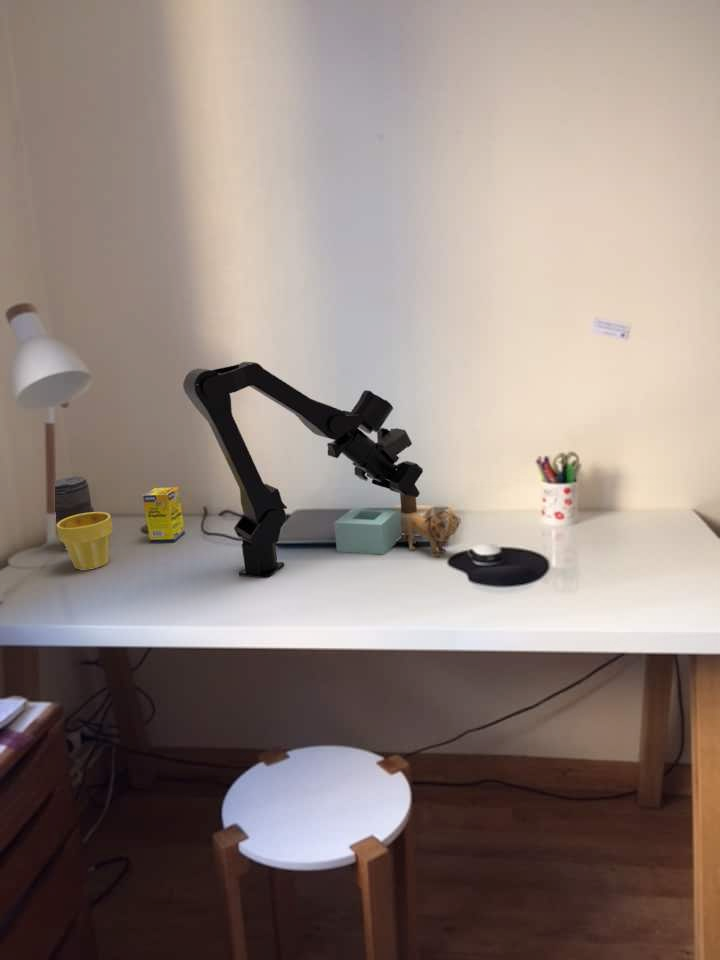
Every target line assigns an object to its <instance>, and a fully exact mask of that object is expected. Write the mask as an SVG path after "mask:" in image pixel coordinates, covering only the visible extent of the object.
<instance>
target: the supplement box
mask: <svg viewBox="0 0 720 960" xmlns="http://www.w3.org/2000/svg"><path fill="white" fill-rule="evenodd" d="M180 499H181V498H180V492H179V487H155V488H153V489H152V490H150V491H149V492H147V493H144V494H143V495H142V501H143V507H144V513H145V519H146V525H147V531H148V539H149V542H150V543H151V544H155V543H157V544H158V543H159V544H160V543H175V542H176V541H178V539H180V538H181V537H182V536H184V535H185V534H186V531H185V530H186V529H185V526H184V518H183V512H182V505H181V500H180Z"/></svg>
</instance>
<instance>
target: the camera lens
mask: <svg viewBox="0 0 720 960" xmlns="http://www.w3.org/2000/svg"><path fill="white" fill-rule="evenodd" d="M54 481H55V512H56V519H55V523H56V525H57V523H58V522H60V521H61V520H63V519H65V518H68V517H70V516H74V515H78V514H83V513H89V512H95V511H94V507H93V506H92V503H91V502H92V499H91V494H90V493H91V492H90V488H89V483H88V482H87V480H86V477H84V476H72V477H71V476H70V477H65V478H61V479H57V480H54ZM60 543H62V545H63V548H66V547H65V545H64V543H63V542H61V541H60Z"/></svg>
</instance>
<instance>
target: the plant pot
mask: <svg viewBox="0 0 720 960" xmlns="http://www.w3.org/2000/svg"><path fill="white" fill-rule="evenodd" d="M56 531H57V535H58V539H59V541H60V543H61V542H63V543H64V545H65V547H66V549H67V550H66V551H67V553H68V555H69V557H70V559H71V562H72V565H73V566H74V569H76V568H77V569H90V568H96V567H99V566H102V565H104V566H106V565H108V564H109V562H108V561H110V541H111V533H113V531H114V529H113V520H112V516H111V514H110V513H109V512H103V511H94V512H89V513H83V514H78V515H74V516H70V517H68V518H65V519H63V520H61V521H60V522H58V523H57V524H56ZM63 543H62V544H63ZM105 564H106V565H105ZM102 567H103V566H102ZM77 569H76V570H77Z"/></svg>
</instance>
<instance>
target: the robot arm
mask: <svg viewBox="0 0 720 960" xmlns="http://www.w3.org/2000/svg"><path fill="white" fill-rule="evenodd" d="M182 384H183V385H182V386H183V390H184V393H185V395H186V396H187V397H188V399H189V400H190V402H191V403H192V405H194V408H196V410H197V411H198V413H200V415H201V416H202V417H203V418H204V419H205V420H206V421H207V422H208V424H209V426H210V429H211V431H212V433H213V435H214V437H215V440H216V441H217V444H218V446H219V448H220V450H221V452H222V454H223V456H224V458H225V460H226V463H227V464H228V467H229V469H230V471H231V473H232V475H233V477H234V480H235V481H236V484H237V486H238V488H239V493H240V494H239V495H240V505H241V509H242V512H243V514H242V515H241V517H240V518H239V520H238V521H237V523H236V524H235V526H234V528H233V530H234V532H235V533H236V535H237V537H238V538H241V539H242V543H241V549H242V556H243V564H244V567H243V568H242V569H241V570H240V571H238V575H239V576H245V577H259V578H270V577H271V576H272V575H273V574H275V573H276V572H278V570H280V569H281V568H283V567H284V566H285V563H284V562H282V561H278V556H277V548H276V547H277V546H276V543H278V542H279V540H280V539H279V538H280V534H281V529H282V527H283V526H284V525H285V521H286V520H287V514H286V509H288V506H286V504H285V503H284V502H283V501H282V500H283V499H282V495H281V493H280V490H279V488H276V487H274V486H272V485H269V484H268V483H264V482H263V480H262V477H261V475H260V473H259V470H258V469H257V468H258V467H256V464H255V462H254V459H253V457H252V455H251V453H250V451H249V449H248V447H247V444H246V442H245V439H244V438H243V435H242V433H241V431H240V429H239V427H238V425H237V422H236V420H235V418H234V416H233V412H232V410H233V409H232V398H231V397H232V396H231V394H234V393H237V392H238V391H241V390H243V389H246V388H248V387H250V388H252V390H253V389H254V390H255V391H257V392H258V393H260V394H261V395H263V396H265V397H266V398H268V399H269V400H271V401H272V402H274V403H276V404H278V405H279V406H281V407H282V408H284V409H285V410H287V411H289V412H290V413H292V414H294V415H295V417H297V418H298V419H299V420H300V422H301V423H302V424H303V425H304V426H305V427H306V428H307V429H308V430H309V431H310V432H312V433H313V434H315V435H316V436H319V437H323V438H326V439H329V440H333V441H332V442H327V443H326V444H327V456H329V457H332V458H335V459H338V458H340V456H341V454H342V455H344V456H345V457H346V458H347V459H349V460H350V461H351V462H352V465H353V466H354V469H353V470H354V475H355V476H356V477H358V478H359V479H360V480H363V481H365V482H368V480H369V479H371V484H373V485H375V486H378V487H381V488H385V489H389V491H392V492H395V493H398V494H400V493H401V494H403V495H410V496H414V497H416V498H418V497H419V496H420V494H421V493H420V491H419V489H418V487H417V486H416V483H417V481H418V480H419V479H420V477H421V475H422V474H423V471H424V469H423V468H422V467H421V466H420V465H419V464H417V463H415V462H413V461H409V460H406V461H402V462H399V463H397V462H398V461H399V459H400V457H399V456H398V455H399V454H401V453H402V452H403V451H404V450H406V449H407V448H409V447H411V446H412V445H413V442H412V441H411V438H410V437H409V435H408V432H407V431H406V430H405V429H402V428H398V427H397V428H391V429H390V430H389V429H387V428H386V427H382V426H383V424H384V423H385V422H386V420H387V419H388V417H389V416H390V415H391V413H392V412H393V410H394V407H393V405H392V404H391V403H390V401H388V400H386V399H384V398H383V397H381V396H380V395H377V394H374V393H373V391H371V390H367V389H366V390H365V389H364V390H363V391H362V393H361V395H360V397H359V399H358V400H357V402H356V404H355V405H354V406H353V409H351V411H347V410H342V409H339V408H336V407H334V406H332V405H329V404H326V403H324V402H320V401H318V400H315V399H312V398H311V397H308V396H307V395H306V394H304V393H302V392H301V391H299V390H298V389H296V388H295V387H293V386H291V385H290V384H288V383H287V382H285V381H284V380H282V379H281V378H279V377H278V376H276V375H275V374H272V373H271V372H270V371H268V370H267V369H265V368H264V367H263V366H262V365H261V364H259V363H257V362H253V361H243V362H240V363H237V364H234V365H229V366H225V367H220V368H213V369H207V368H195V369H192V370H191V371H189V372H188V373H187V374H186V375H185V378H184V380H183V383H182ZM364 432H365V433H364ZM372 432H374V433H376V434H377V435H376V436H377V442H375V441H374V440H373V439H371V438H370V437H369V436H368V435H367V434H369V435H370V434H372ZM395 463H397V464H395Z"/></svg>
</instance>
